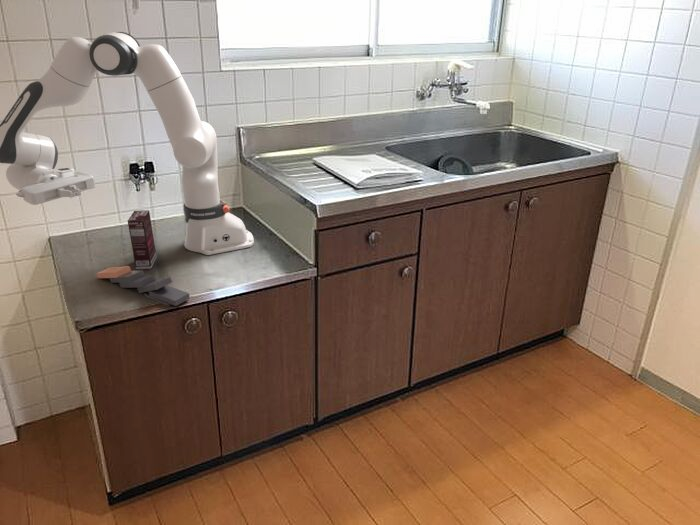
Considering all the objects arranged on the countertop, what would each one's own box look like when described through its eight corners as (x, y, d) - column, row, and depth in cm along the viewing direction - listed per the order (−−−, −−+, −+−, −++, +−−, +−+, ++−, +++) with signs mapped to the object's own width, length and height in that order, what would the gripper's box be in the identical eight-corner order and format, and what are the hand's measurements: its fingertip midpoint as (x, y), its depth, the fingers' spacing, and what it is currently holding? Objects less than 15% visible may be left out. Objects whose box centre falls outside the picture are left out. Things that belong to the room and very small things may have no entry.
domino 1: (96, 273, 173) (114, 272, 167) (111, 267, 177) (129, 266, 170) (98, 278, 173) (116, 277, 167) (112, 272, 177) (131, 271, 171)
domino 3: (118, 282, 168) (138, 281, 162) (133, 275, 172) (153, 275, 165) (120, 287, 168) (140, 287, 162) (135, 281, 172) (155, 280, 166)
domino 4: (136, 287, 165) (154, 284, 158) (151, 280, 169) (170, 276, 162) (139, 293, 165) (157, 289, 159) (154, 285, 169) (172, 282, 162)
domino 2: (109, 277, 170) (127, 276, 164) (124, 271, 174) (142, 270, 168) (111, 282, 171) (129, 282, 164) (126, 276, 174) (144, 275, 168)
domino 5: (143, 293, 164) (167, 304, 159) (158, 286, 168) (182, 296, 162) (144, 298, 165) (168, 309, 159) (159, 291, 168) (183, 301, 163)
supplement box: (141, 257, 186) (133, 210, 180) (157, 257, 187) (150, 209, 180) (134, 269, 179) (126, 220, 172) (151, 269, 179) (143, 220, 172)
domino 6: (149, 291, 162) (175, 300, 157) (163, 283, 166) (189, 293, 161) (149, 296, 163) (175, 306, 158) (163, 289, 166) (189, 298, 162)
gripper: (10, 183, 166) (39, 192, 160) (75, 166, 182) (104, 174, 175) (15, 204, 169) (44, 214, 162) (79, 186, 185) (107, 194, 178)
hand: (76, 193), depth 169 cm, fingers closed
